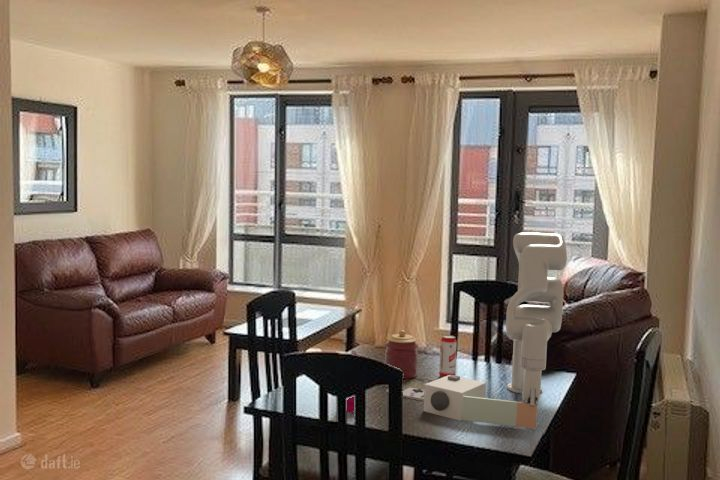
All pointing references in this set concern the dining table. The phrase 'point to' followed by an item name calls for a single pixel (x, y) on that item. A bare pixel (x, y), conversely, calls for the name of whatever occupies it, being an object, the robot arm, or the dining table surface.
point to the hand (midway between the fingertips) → (530, 420)
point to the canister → (402, 353)
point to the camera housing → (451, 395)
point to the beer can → (447, 355)
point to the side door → (499, 412)
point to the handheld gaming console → (414, 394)
